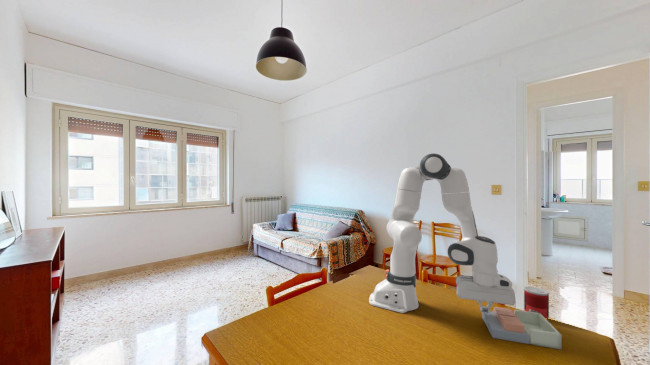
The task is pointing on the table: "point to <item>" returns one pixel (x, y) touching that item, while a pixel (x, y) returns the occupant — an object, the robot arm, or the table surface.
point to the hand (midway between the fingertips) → (484, 311)
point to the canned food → (536, 301)
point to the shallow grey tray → (502, 329)
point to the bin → (539, 329)
